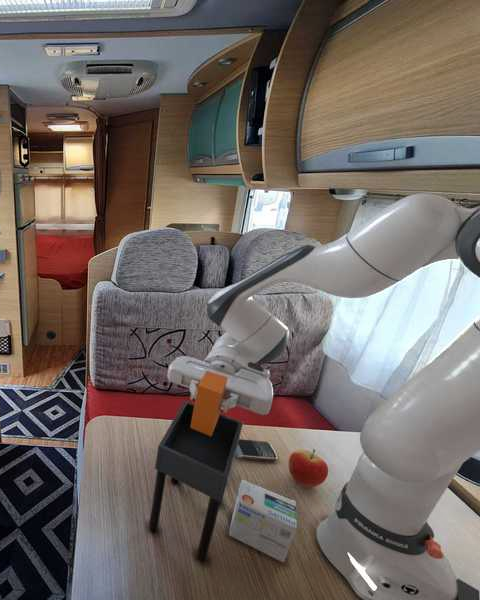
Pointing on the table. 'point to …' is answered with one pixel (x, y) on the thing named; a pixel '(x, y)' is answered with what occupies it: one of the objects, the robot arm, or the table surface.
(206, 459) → the dark gray open bin
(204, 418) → the block
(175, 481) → the stand
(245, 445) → the cell phone
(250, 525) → the light bulb box
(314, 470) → the apple
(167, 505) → the table surface
